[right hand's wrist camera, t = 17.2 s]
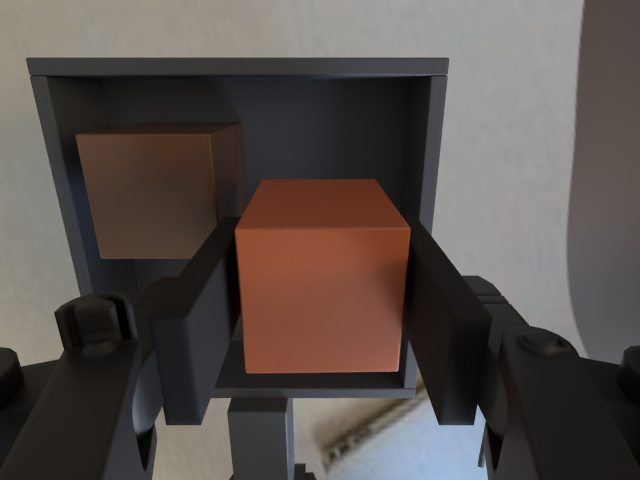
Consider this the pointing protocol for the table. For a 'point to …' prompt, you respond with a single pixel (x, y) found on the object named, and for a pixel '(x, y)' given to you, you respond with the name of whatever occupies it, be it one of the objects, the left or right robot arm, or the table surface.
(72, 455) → the right robot arm
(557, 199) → the table surface
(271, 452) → the tote
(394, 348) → the terracotta block
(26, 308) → the table surface
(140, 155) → the walnut block
